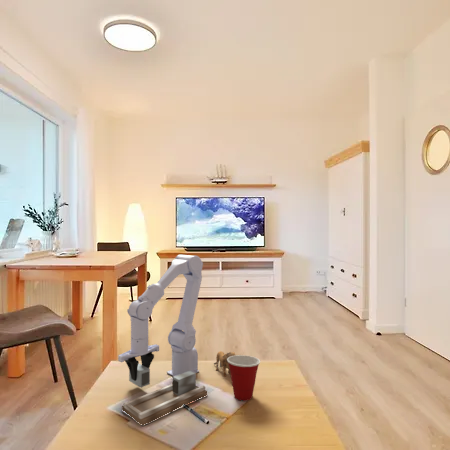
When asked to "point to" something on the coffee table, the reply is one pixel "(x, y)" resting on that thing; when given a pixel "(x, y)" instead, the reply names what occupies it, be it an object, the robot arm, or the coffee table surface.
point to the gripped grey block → (141, 376)
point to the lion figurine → (223, 361)
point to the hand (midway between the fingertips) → (139, 377)
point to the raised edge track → (165, 398)
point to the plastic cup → (243, 375)
